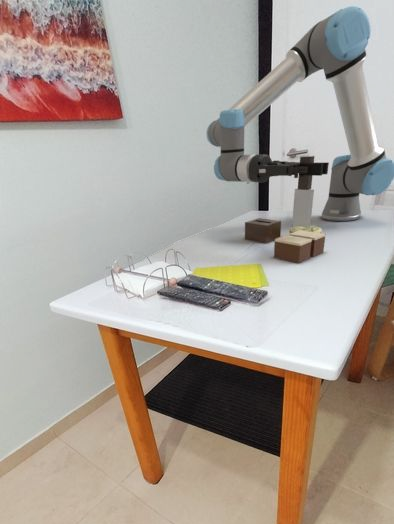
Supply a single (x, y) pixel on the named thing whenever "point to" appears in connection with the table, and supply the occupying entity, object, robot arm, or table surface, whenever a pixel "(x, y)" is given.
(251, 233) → the knife block
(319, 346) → the table surface
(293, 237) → the cake slice
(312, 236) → the cake
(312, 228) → the decorated donut
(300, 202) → the knife
